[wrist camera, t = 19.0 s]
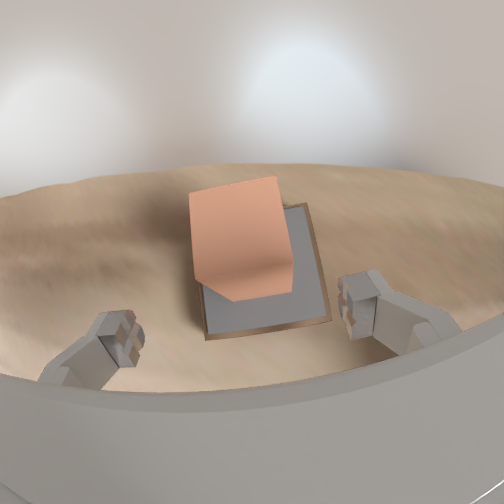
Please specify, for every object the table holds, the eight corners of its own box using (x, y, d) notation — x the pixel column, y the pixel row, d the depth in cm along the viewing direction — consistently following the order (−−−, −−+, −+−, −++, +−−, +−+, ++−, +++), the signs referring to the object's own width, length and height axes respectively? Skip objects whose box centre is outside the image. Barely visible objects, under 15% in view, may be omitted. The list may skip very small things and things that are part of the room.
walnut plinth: (215, 339, 26) (203, 340, 23) (203, 236, 30) (191, 222, 26) (326, 322, 26) (333, 320, 22) (305, 217, 29) (307, 200, 25)
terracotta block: (232, 301, 23) (195, 279, 14) (225, 246, 25) (188, 193, 15) (291, 292, 23) (294, 262, 13) (281, 236, 24) (275, 175, 15)
